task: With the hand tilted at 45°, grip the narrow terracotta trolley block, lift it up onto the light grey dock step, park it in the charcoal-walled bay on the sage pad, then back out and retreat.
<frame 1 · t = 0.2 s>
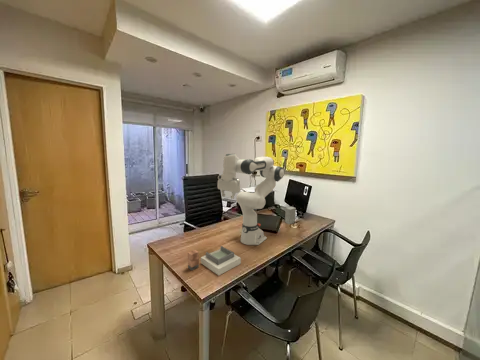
hand: (227, 197, 139), 39 cm above the table, tool pointing down, fingers open, 8 cm apart
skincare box: (289, 223, 204), on the table
trolley block: (193, 267, 125), on the table
bay dock: (220, 263, 130), on the table
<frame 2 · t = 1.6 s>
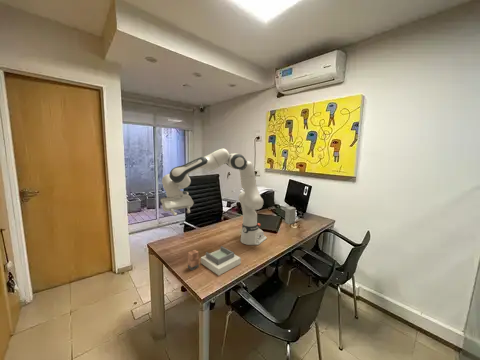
hand: (182, 214, 128), 31 cm above the table, tool tilted 45°, fingers open, 8 cm apart
nothing on the table moved.
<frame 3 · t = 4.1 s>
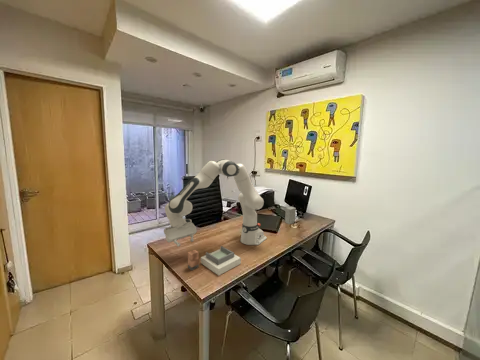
hand: (186, 243, 129), 13 cm above the table, tool tilted 45°, fingers open, 8 cm apart
nothing on the table moved.
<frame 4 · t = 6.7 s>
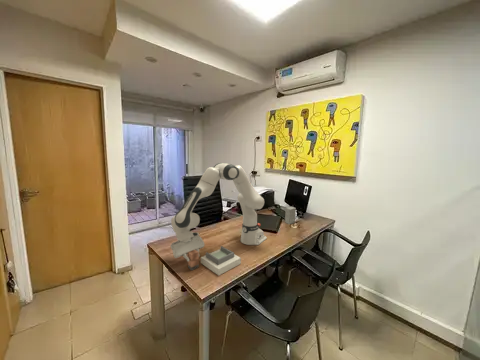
hand: (193, 258, 123), 6 cm above the table, tool tilted 45°, fingers closed on trolley block, 5 cm apart
trolley block: (193, 267, 125), on the table, touching gripper
everything else where it was.
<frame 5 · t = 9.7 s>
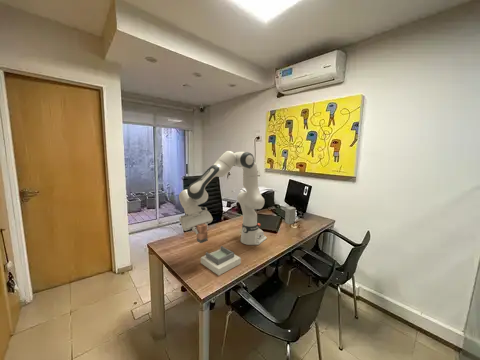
hand: (202, 232, 123), 22 cm above the table, tool tilted 45°, fingers closed on trolley block, 5 cm apart
trolley block: (202, 240, 124), point 16 cm above the table, touching gripper
everything else where it was.
when the fingers open (12 cm above the table, at t = 13.1 s): trolley block drops 1 cm, resting on bay dock.
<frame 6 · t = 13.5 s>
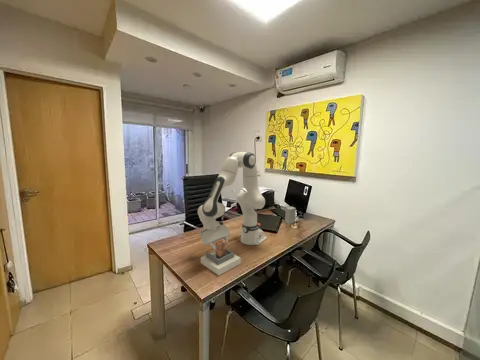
hand: (221, 246, 128), 12 cm above the table, tool tilted 45°, fingers open, 8 cm apart
trolley block: (220, 257, 129), point 4 cm above the table, touching bay dock
everything else where it was.
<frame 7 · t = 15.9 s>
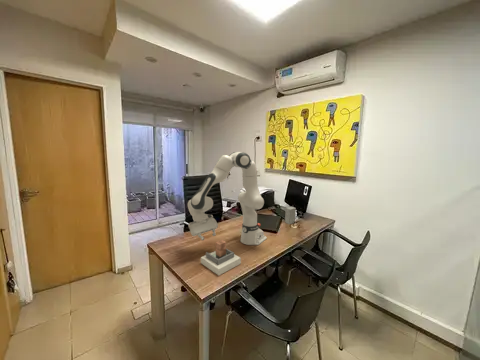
hand: (209, 237, 136), 13 cm above the table, tool tilted 45°, fingers open, 8 cm apart
nothing on the table moved.
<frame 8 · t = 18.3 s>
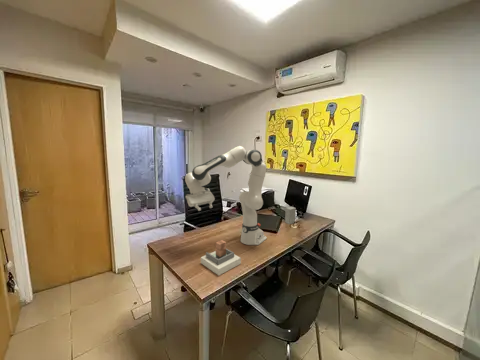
hand: (205, 208, 139), 31 cm above the table, tool tilted 45°, fingers open, 8 cm apart
nothing on the table moved.
at the end: trolley block inside the target area on the bay dock (0.3 cm from its centre), point 4.2 cm above the bay dock's base; trolley block tilted 0°; the gripper is holding nothing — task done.
